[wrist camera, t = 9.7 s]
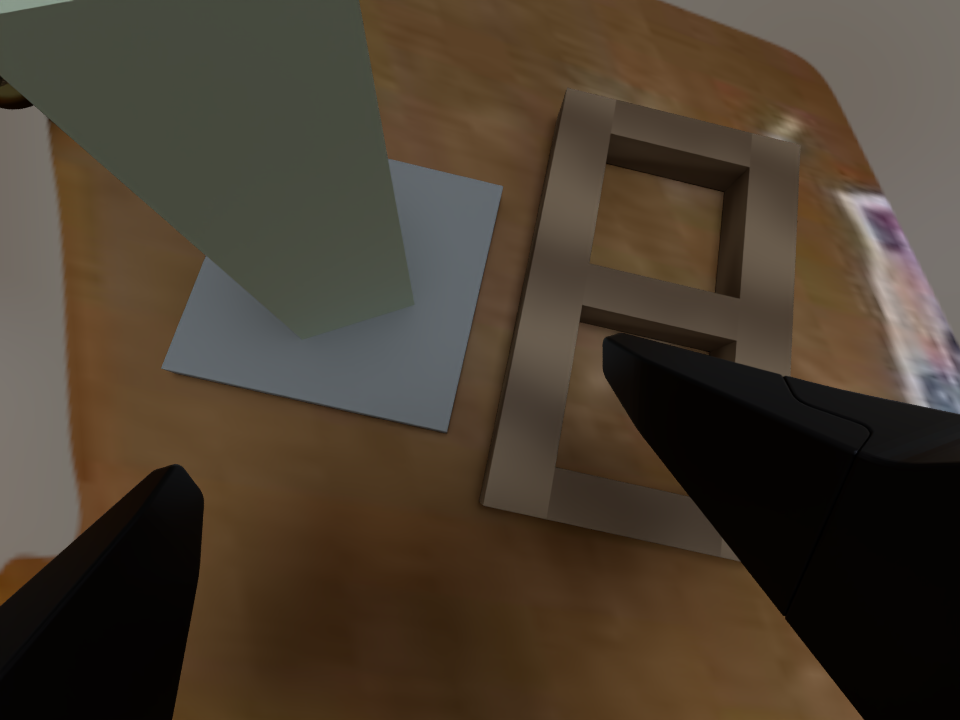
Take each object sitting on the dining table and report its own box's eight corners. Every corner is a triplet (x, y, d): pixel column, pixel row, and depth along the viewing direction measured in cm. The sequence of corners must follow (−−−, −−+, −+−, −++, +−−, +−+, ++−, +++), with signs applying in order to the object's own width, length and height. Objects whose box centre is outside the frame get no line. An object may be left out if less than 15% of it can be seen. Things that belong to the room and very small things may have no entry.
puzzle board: (747, 559, 19) (781, 570, 17) (479, 501, 19) (483, 505, 17) (771, 170, 24) (800, 145, 22) (557, 118, 24) (567, 87, 22)
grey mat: (446, 433, 19) (446, 431, 19) (175, 373, 19) (161, 368, 18) (500, 198, 22) (502, 186, 21) (265, 142, 22) (257, 127, 21)
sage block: (414, 304, 20) (349, -51, 6) (302, 339, 19) (-59, 24, 5) (380, 208, 21) (258, -286, 7) (272, 237, 20) (-99, -252, 6)
